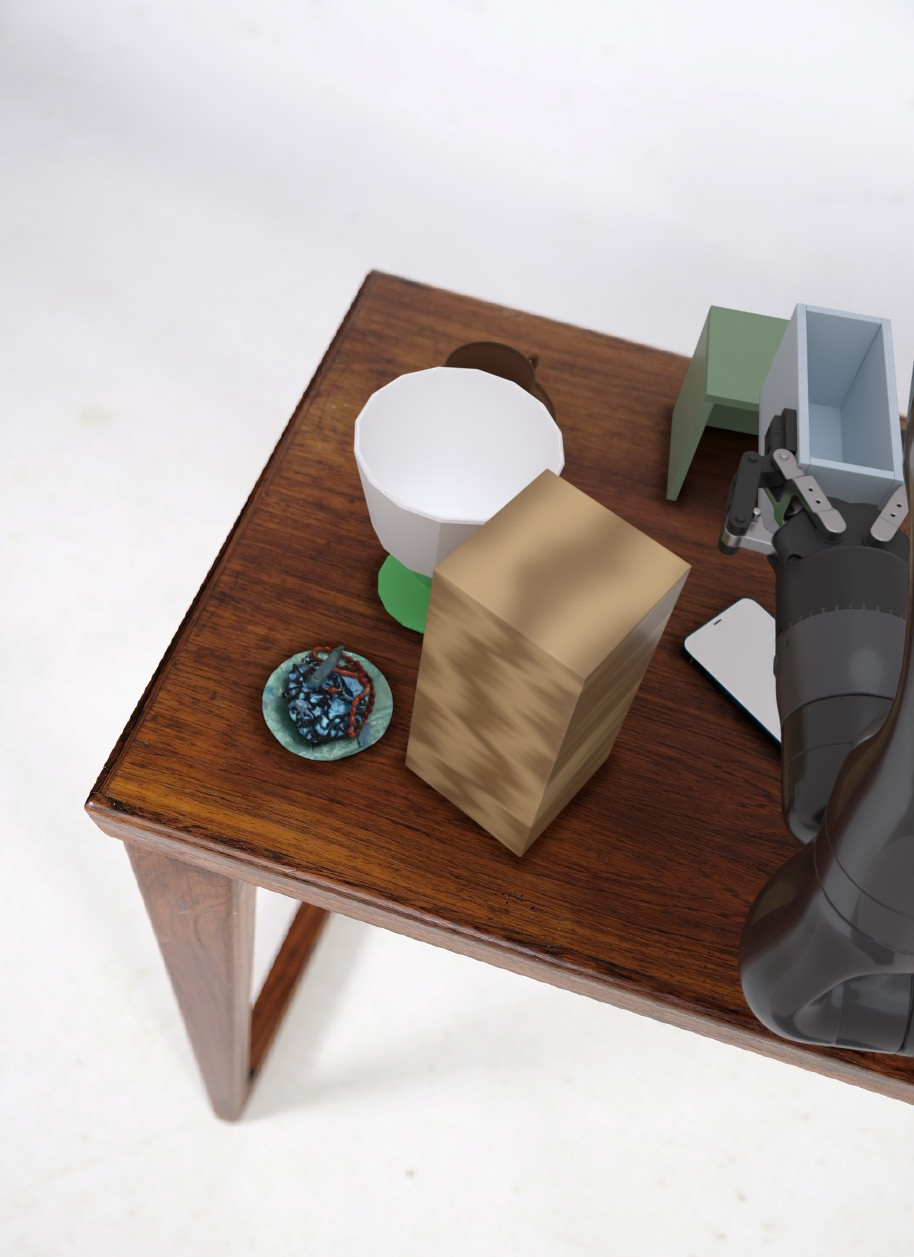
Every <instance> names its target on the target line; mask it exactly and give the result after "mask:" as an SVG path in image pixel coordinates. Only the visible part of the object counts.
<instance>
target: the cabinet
mask: <svg viewBox="0 0 914 1257" xmlns="http://www.w3.org/2000/svg"><path fill="white" fill-rule="evenodd" d="M789 321H790V319H787V318H781V317H776V316H771V315H764V314H760V313H754V312H749V311H744V310H740V309H739V310H738V309H735V308H734V309H733V308H729V307H723V306H717V305H712V304H711V305H710V307H709V309H708V312H707V314H706V318H705V321H704V323H703V326H702V329H701V332H700V335H699V338H698V340H697V343H696V345H695V348H694V351H693V355H692V357H691V360H690V363H689V365H688V367H687V368H688V369H687V372H686V374H685V376H684V379H683V382H682V384H681V388H680V391H679V394H678V397H677V400H676V402H675V405H674V408H673V411H672V417H671V429H670V430H671V431H670V444H669V458H668V472H667V483H666V484H667V487H666V500H669V501H673V502H675V501H677V500H678V496H679V494H680V491H681V489H682V487H683V485H684V481H685V479H686V476H687V474H688V471H689V469H690V466H691V463H692V460H693V459H694V457H695V453H696V451H697V448H698V446H699V443H700V440H701V439H702V435H703V434H704V431H705V427H706V426H707V427H713V428H716V429H723V430H729V431H734V432H739V433H743V434H749V435H755V436H759V394H760V392H761V389H762V387H763V384H764V382H765V380H766V377H767V375H768V372H769V370H770V367H771V365H772V362H773V360H774V358H775V355H776V353H777V350H778V348H779V345H780V343H781V341H782V338H783V336H784V333H785V331H786V328H787V326H788V323H789Z"/></svg>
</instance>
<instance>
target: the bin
mask: <svg viewBox="0 0 914 1257" xmlns="http://www.w3.org/2000/svg"><path fill="white" fill-rule="evenodd" d="M789 320H790V321H789V323H788V326H787V328H786V331H785V333H784V336H783V338H782V341H781V343H780V345H779V348H778V350H777V353H776V355H775V358H774V360H773V362H772V365H771V367H770V370H769V372H768V375H767V377H766V380H765V382H764V384H763V387H762V389H761V392H760V394H759V435H758V453H759V454H760V455H761V456H764V449H765V448H764V444H765V443H764V437H765V434H766V432H767V430H768V427H769V425H770V423H771V421H772V419H773V417H774V416H775V415H779V416H781V413H782V411H783V409H784V408H789V409H795V410H796V411H797V453H796V455H795V458H796V460H797V462H798V465H799V466H800V467H801V468H802V470H803V471H804V473H805V475H812V476H813V477H814V478H815V480H816V482H817V483H818V485H819V487H820V488H821V490H822V491H823V493H824V495H825V496H829V497H834V498H838V499H841V500H843V501H846V502H849V503H868V504H873V505H878V510H880V511H883V509H884V508H885V506H886V505H887V503H888V502H889V500H890V498H891V497H892V495H893V494H894V492H895V491H896V490H897V488H898V487H899V485H900V484H903V483H904V478H903V469H902V461H903V454H902V442H901V431H900V429H901V421H900V420H901V419H900V409H899V399H898V387H897V376H896V364H895V354H894V343H893V332H892V331H893V330H892V319H891V318H887V317H879V316H874V315H868V314H864V313H863V314H862V313H856V312H853V311H845V310H841V309H840V310H839V309H834V308H828V307H825V306H824V307H823V306H817V305H812V304H805V303H801V302H797V303H796V304H795V306H794V309H793V311H792V314H791V316H790V319H789ZM757 499H758V500H757V508H759V509H760V510H761V511H762V513H761V516H762V517H763V519H764V525H765V527H766V528H767V529H768V530H769V531H770V532H773V533H775V532H776V531H777V530H778V529H779V528H780V527H779V525H778V524H777V522H776V520H775V517H774V507H773V505H772V503H771V501H770V500H769V498H768V496H767V495H766V493H765V491H764V489H763V488H759V489H758V491H757Z"/></svg>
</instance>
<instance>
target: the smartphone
mask: <svg viewBox="0 0 914 1257" xmlns="http://www.w3.org/2000/svg"><path fill="white" fill-rule="evenodd" d="M680 652H681V655H682V657H684V659H685V660H686V661H687V662H688V663H689V664H690V665H691V666H692V667H693V668H694V669H696V671H697V672H698V673H699V674H700V675H701V676H703V677H704V679H705V680H706V681H708V682H709V683H710V684H711V686H713V687H714V689H716V691H718V692H719V694H721V695H722V696H723V697H724V698H725V699H726V700H727V701H728V702H729V703H730V704H731V705H732V706H733V707H734V708H735V710H737V711H738V712H739V713H740V714H741V715H742V716H743V717H744V718H745V719H746V720H747V721H748V722H749V723H750V724H751V725H752V726H753V727H754V728H755V729H757V731H759V733H760V734H761V735H763V737H765V738H766V739H767V740H768V741H769V742H770V744H772V745H773V747H775V748H776V749H777V751H779V752H780V753H781V728H780V720H779V714H778V709H777V702H776V689H775V676H774V675H773V660H774V656H775V616H773V615H772V614H771V613H770V612H769V611H768V610H767V609H766V608H765V607H763V605H762V604H761V603H759V602H758V601H757V600H755V599H754V598H751V597H741V598H739V599H737V600H736V601H734V602H733V603H732V604H730V605H729V606H727V607H726V608H724V609H722V610H721V611H720V612H719V613H718V614H716V615H715V616H713V617H712V618H711V619H709V620H708V621H706V622H704V624H702V625H700V626H699V627H698V628H696V629H695V630H694V631H692V632H690V633H689V634H687V635H686V636H685V637H684V639H683V641H682V643H681V645H680Z"/></svg>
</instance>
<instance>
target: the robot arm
mask: <svg viewBox="0 0 914 1257" xmlns="http://www.w3.org/2000/svg"><path fill="white" fill-rule="evenodd" d="M912 364H913V365H912V372H911V379H910V389H909V396H908V403H907V413H906V422H905V428H900V431H901V442H902V454H903V461H902V469H903V478H904V483H903V484H900V485H899V487H898V488H897V490H896V491H895V492H894V494H893V495H892V497H891V498H890V500H889V502H888V503H887V505H886V506H885V508H884V509H883V511H880V510H878V505H873V504H868V503H849V502H846V501H843V500H841V499H838V498H834V497H829V496H825V495H824V493H823V491H822V490H821V488H820V487H819V485H818V483H817V482H816V480H815V478H814V477H813V476H812V475H805V473H804V471H803V470H802V468H801V467H800V466H799V465H798V462H797V460H796V458H795V455H796V453H797V411H796V410H795V409H789V408H784V409H783V411H782V413H781V416H779V415H775V416H774V417H773V419H772V421H771V423H770V425H769V427H768V430H767V432H766V434H765V437H764V443H765V444H764V448H765V449H764V456H761V455H760V454H759V452H757V451H754V450H747V451H745V452H744V453H743V454H742V456H741V458H740V461H739V465H738V467H737V469H736V472H735V475H734V476H733V478H732V480H731V482H730V485H729V490H728V495H727V499H726V504H725V507H724V509H725V510H724V513H723V519H722V522H721V525H720V526H721V527H720V531H719V536H718V541H717V549H718V551H719V552H720V553H721V554H723V555H726V556H728V557H729V556H730V557H731V556H735V555H736V554H738V553H739V551H740V549H743V550H747V551H750V552H753V553H757V554H761V555H763V556H764V555H765V557H766V560H767V562H768V563H769V565H770V567H771V568H772V570H773V573H774V576H775V579H774V580H775V584H774V618H775V656H774V660H773V675H774V676H775V689H776V702H777V709H778V714H779V720H780V728H781V752H780V776H781V777H780V807H781V814H782V819H783V823H784V826H785V829H786V830H787V831H788V834H790V836H791V837H792V838H793V839H794V840H795V841H796V842H798V844H800V845H801V846H802V847H801V848H800V849H799V850H797V852H795V854H794V855H793V854H792V856H791V857H790V858H788V859H787V860H786V861H785V862H784V863H783V864H782V865H781V866H780V867H779V868H778V869H777V870H776V871H775V872H774V873H773V874H772V875H771V876H770V877H769V878H768V879H767V881H766V882H765V883H764V885H763V886H762V887H761V888H760V890H759V892H758V893H757V894H756V896H755V898H754V900H753V901H752V903H751V906H750V908H749V910H748V912H747V914H746V916H745V920H744V923H743V926H742V929H741V933H740V937H739V943H738V948H737V950H738V951H737V973H738V978H739V985H740V988H741V992H742V994H743V997H744V999H745V1001H746V1004H747V1005H748V1007H749V1009H750V1010H751V1012H752V1013H753V1014H754V1016H755V1017H756V1018H757V1019H758V1020H759V1022H760V1023H761V1024H762V1025H763V1026H764V1027H766V1028H767V1029H768V1030H769V1031H771V1032H773V1033H774V1034H776V1035H777V1036H778V1037H781V1038H784V1039H786V1040H790V1041H793V1042H797V1043H801V1044H808V1045H814V1046H822V1047H834V1048H841V1049H850V1050H856V1051H865V1052H872V1053H878V1054H888V1055H894V1054H895V1055H897V1056H902V1057H910V1058H914V362H913V363H912ZM759 488H763V489H764V491H765V493H766V495H767V496H768V498H769V500H770V501H771V503H772V505H773V507H774V517H775V520H776V522H777V524H778V525H779V527H780V528H779V529H778V530H777V531H776V532H775V533H773V532H770V531H769V530H768V529H767V528H766V527H765V525H764V519H763V517H762V516H761V513H762V511H761V510H760V509H759V508H758V507H755V505H756V501H757V497H758V489H759ZM907 516H908V536H907V534H905V532H904V531H903V530H902V529H901V525H903V523H904V521H905V519H906V518H907Z"/></svg>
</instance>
